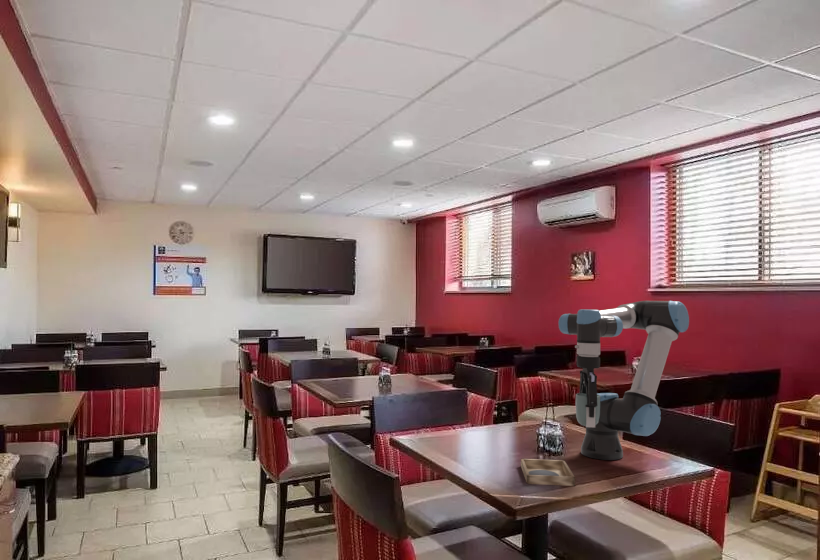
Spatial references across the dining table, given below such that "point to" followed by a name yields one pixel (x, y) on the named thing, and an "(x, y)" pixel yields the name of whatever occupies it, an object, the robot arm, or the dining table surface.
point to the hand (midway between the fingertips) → (587, 424)
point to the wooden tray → (549, 465)
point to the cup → (581, 409)
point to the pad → (543, 473)
